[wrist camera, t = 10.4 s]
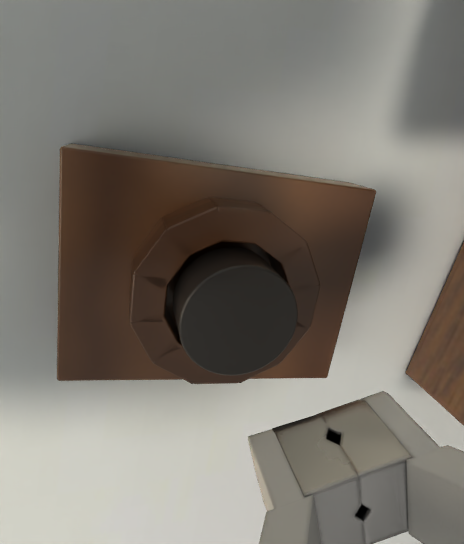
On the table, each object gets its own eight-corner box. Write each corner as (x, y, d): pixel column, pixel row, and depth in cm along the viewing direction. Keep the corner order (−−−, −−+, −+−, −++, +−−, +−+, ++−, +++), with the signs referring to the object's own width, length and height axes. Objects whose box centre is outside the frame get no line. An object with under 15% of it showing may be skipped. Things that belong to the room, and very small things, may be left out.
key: (167, 345, 15) (172, 377, 13) (178, 242, 14) (186, 261, 12) (267, 346, 16) (285, 376, 14) (287, 251, 15) (310, 270, 13)
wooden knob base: (64, 352, 18) (47, 412, 14) (69, 142, 15) (49, 149, 11) (308, 354, 21) (346, 402, 17) (350, 182, 18) (405, 197, 14)
